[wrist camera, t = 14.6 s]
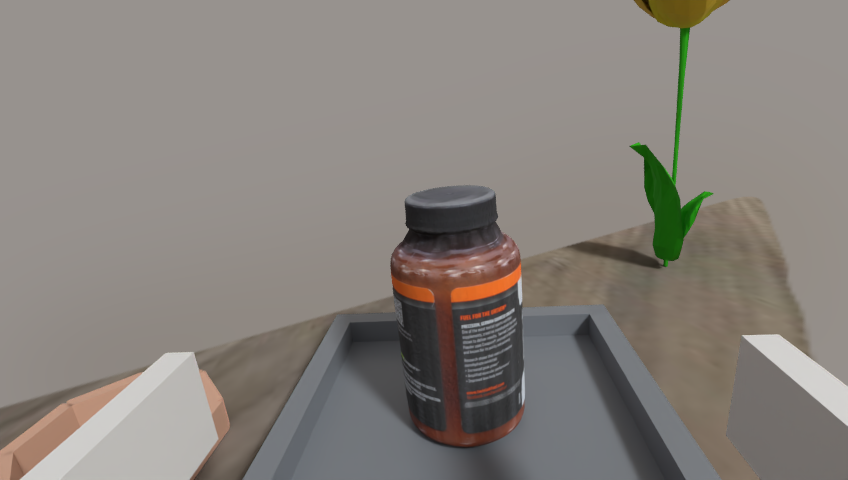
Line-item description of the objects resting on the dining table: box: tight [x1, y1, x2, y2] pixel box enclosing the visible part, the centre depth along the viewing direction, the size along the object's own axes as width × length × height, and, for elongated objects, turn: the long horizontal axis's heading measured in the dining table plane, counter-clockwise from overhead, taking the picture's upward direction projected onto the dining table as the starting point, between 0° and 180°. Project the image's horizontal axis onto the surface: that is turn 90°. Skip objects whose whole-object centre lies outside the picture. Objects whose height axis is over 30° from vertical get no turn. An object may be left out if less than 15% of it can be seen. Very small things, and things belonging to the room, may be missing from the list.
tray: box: [243, 305, 721, 480], centre depth 22 cm, size 18×16×2 cm
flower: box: [630, 0, 729, 267], centre depth 35 cm, size 9×8×30 cm
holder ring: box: [0, 370, 230, 480], centre depth 22 cm, size 10×10×2 cm
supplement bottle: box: [391, 185, 525, 447], centre depth 21 cm, size 6×6×11 cm
